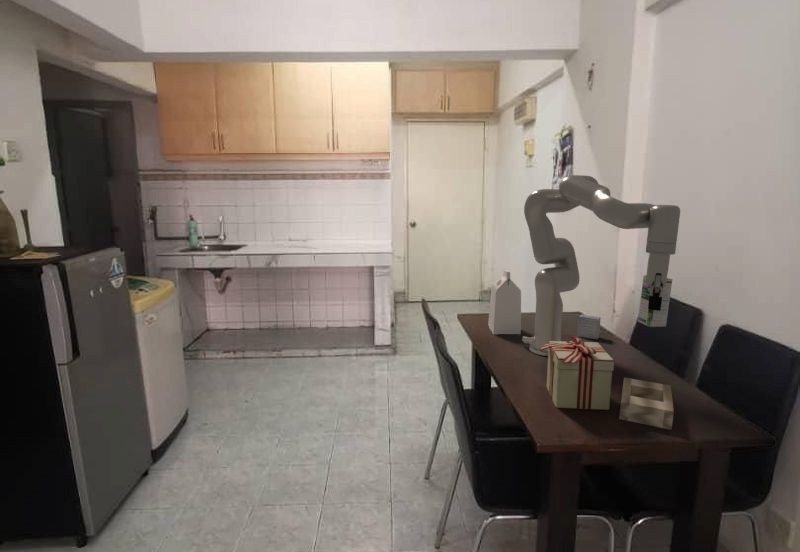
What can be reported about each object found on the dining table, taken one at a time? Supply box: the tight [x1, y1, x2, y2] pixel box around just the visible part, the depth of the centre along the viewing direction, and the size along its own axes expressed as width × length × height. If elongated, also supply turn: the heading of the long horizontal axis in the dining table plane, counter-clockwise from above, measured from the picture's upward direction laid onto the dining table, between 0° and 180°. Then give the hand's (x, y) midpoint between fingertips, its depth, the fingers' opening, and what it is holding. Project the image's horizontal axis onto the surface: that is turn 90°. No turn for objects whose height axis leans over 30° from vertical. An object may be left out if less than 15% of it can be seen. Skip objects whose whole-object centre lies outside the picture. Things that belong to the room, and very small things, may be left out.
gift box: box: [539, 335, 615, 411], centre depth 133 cm, size 17×18×17 cm
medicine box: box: [576, 314, 601, 340], centre depth 191 cm, size 8×4×9 cm, turn 57°
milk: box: [487, 269, 522, 335], centre depth 197 cm, size 12×12×26 cm
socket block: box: [619, 377, 675, 431], centre depth 127 cm, size 12×18×5 cm, turn 152°
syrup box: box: [637, 274, 673, 328], centre depth 137 cm, size 6×6×14 cm
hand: (653, 306), depth 138 cm, fingers closed on syrup box, 7 cm apart
